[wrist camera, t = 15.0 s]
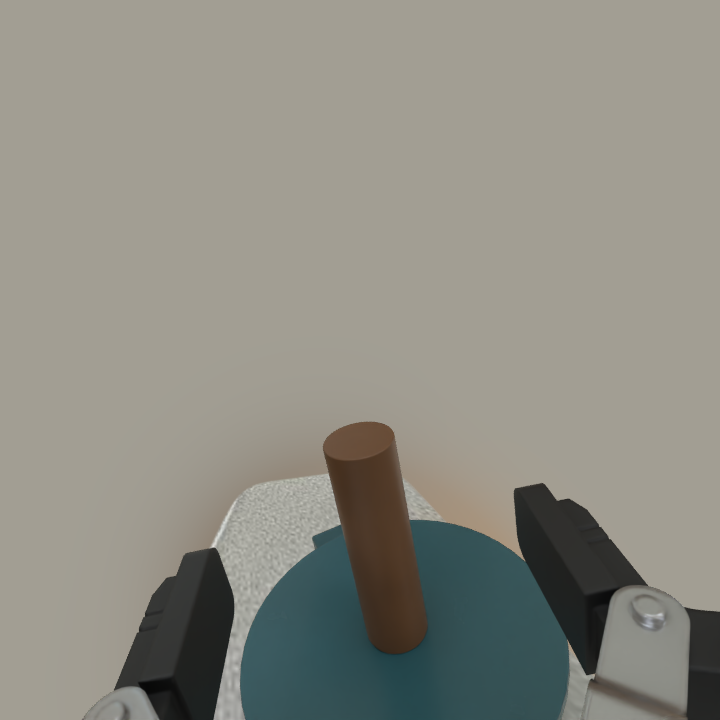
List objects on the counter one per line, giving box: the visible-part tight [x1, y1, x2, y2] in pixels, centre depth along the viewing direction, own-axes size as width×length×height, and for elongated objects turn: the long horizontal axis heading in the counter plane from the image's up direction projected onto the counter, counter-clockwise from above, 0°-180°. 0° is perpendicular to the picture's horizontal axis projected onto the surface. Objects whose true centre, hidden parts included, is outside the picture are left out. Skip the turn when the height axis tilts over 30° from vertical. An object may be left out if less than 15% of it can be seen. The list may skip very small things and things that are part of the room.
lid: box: [240, 422, 570, 720], centre depth 18 cm, size 12×12×10 cm
